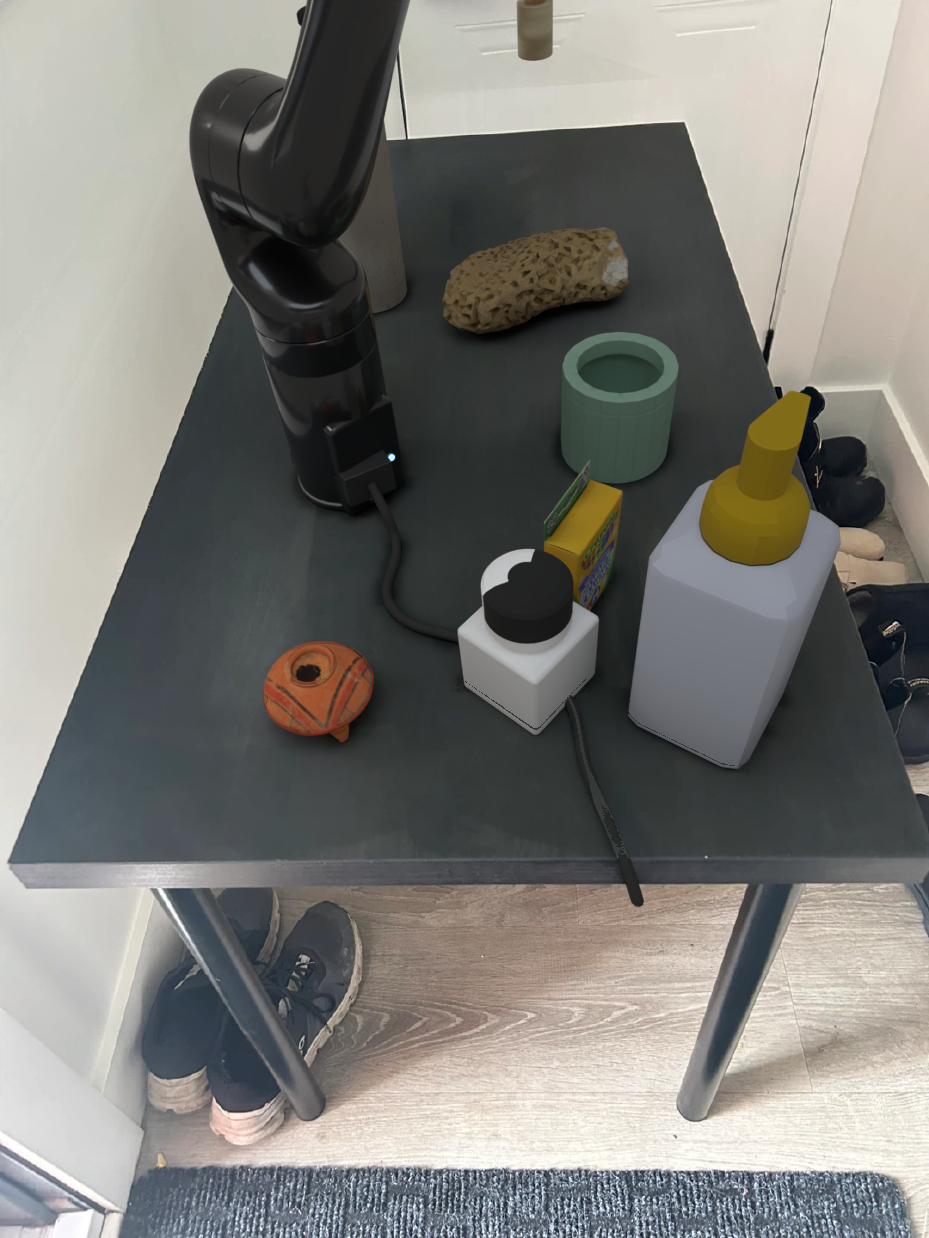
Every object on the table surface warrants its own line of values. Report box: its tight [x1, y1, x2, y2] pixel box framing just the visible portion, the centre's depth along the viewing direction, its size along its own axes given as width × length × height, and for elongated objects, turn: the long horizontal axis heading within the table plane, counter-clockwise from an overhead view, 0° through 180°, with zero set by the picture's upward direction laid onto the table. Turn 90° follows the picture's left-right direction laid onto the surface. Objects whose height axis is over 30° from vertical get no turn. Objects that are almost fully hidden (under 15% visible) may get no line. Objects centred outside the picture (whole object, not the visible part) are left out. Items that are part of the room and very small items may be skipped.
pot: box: [262, 640, 375, 743], centre depth 64 cm, size 8×8×7 cm
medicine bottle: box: [457, 548, 600, 736], centre depth 62 cm, size 7×7×12 cm
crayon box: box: [543, 460, 624, 612], centre depth 66 cm, size 7×3×12 cm, turn 149°
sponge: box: [441, 226, 630, 335], centre depth 93 cm, size 13×8×20 cm
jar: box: [560, 331, 680, 484], centre depth 78 cm, size 10×10×9 cm
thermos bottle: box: [296, 5, 408, 314], centre depth 89 cm, size 8×8×28 cm
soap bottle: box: [627, 390, 842, 770], centre depth 54 cm, size 9×9×25 cm
